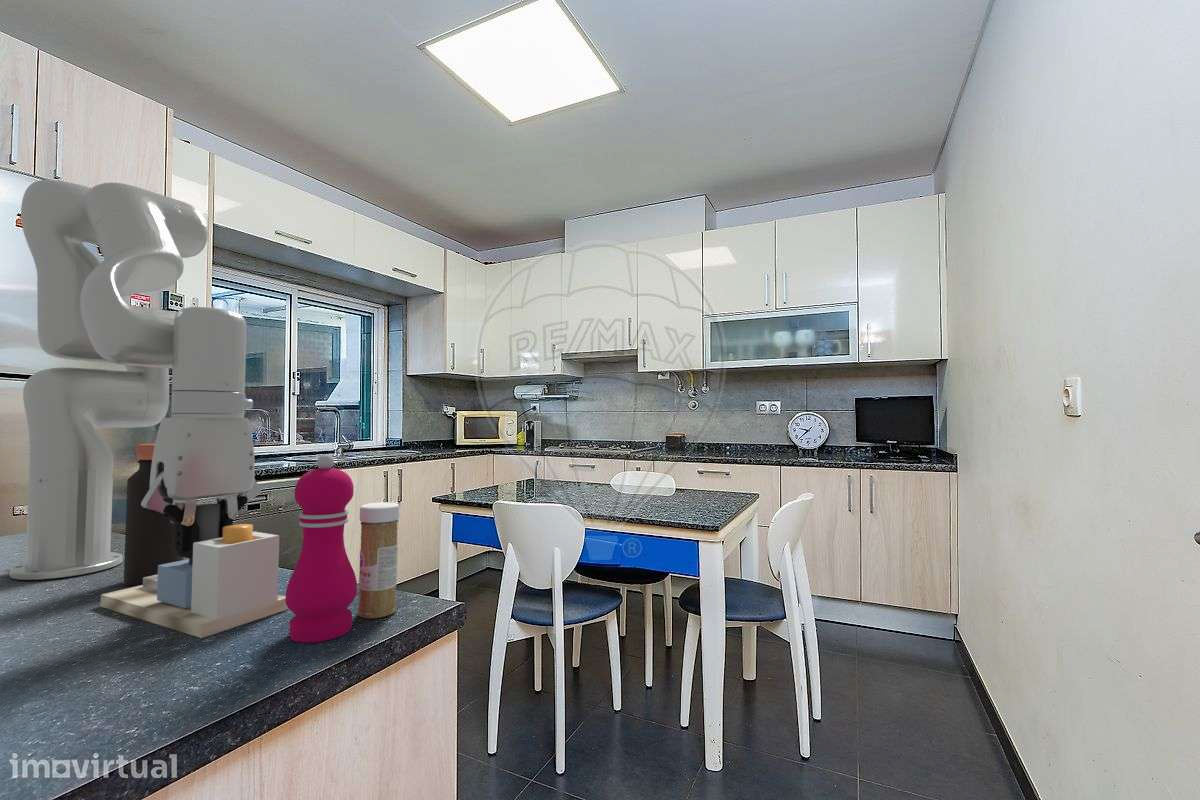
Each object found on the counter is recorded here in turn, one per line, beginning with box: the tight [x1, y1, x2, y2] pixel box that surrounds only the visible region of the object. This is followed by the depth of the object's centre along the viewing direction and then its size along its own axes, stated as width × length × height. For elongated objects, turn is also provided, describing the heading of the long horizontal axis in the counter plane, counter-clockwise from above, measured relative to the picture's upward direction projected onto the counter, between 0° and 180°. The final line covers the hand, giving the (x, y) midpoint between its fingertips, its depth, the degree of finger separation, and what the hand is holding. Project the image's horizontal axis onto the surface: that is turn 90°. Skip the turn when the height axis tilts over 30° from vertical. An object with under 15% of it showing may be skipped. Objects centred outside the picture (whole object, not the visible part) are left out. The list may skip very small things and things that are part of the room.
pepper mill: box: [285, 453, 358, 644], centre depth 61 cm, size 7×7×20 cm
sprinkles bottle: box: [356, 501, 400, 620], centre depth 67 cm, size 5×5×13 cm
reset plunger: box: [222, 523, 254, 544], centre depth 65 cm, size 3×3×4 cm
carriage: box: [157, 503, 220, 608], centre depth 67 cm, size 6×7×11 cm
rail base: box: [100, 575, 290, 639], centre depth 68 cm, size 22×10×3 cm, turn 64°
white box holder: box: [191, 531, 280, 620], centre depth 65 cm, size 5×7×8 cm
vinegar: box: [123, 443, 185, 587], centre depth 80 cm, size 7×7×20 cm
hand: (204, 551), depth 67 cm, fingers closed on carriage, 3 cm apart
